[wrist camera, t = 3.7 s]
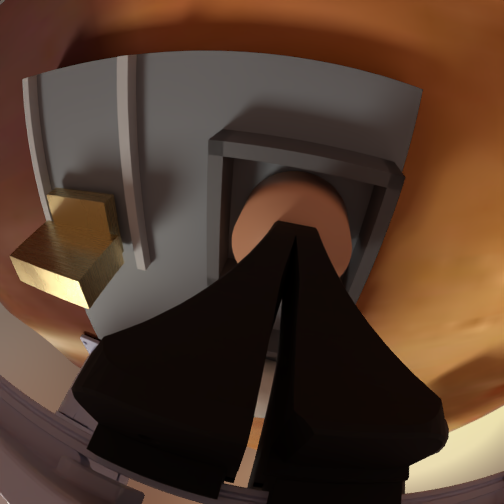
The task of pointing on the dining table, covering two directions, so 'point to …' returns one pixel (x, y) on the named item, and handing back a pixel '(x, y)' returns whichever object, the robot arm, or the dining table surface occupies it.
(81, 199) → the tall mustard sponge block
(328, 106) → the control panel
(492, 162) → the dining table surface
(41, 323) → the dining table surface
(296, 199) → the terracotta button
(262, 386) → the cream button
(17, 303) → the dining table surface
